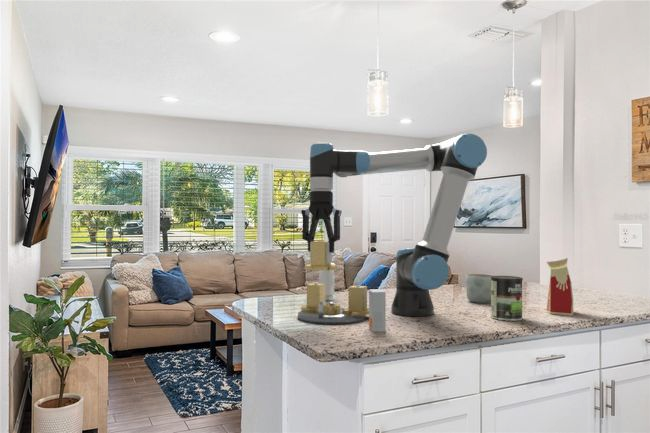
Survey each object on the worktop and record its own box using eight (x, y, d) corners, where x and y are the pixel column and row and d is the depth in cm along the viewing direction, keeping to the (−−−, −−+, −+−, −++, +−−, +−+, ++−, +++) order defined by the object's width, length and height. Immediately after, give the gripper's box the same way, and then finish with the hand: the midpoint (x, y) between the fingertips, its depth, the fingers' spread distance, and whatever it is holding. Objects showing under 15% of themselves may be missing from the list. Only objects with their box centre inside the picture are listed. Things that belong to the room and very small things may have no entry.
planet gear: (330, 271, 161) (330, 242, 161) (297, 269, 166) (297, 241, 166) (343, 268, 172) (343, 241, 172) (312, 266, 176) (312, 240, 176)
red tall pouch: (573, 311, 191) (573, 257, 191) (573, 316, 182) (573, 259, 182) (546, 309, 194) (546, 256, 194) (545, 313, 186) (545, 258, 186)
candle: (317, 299, 216) (317, 264, 216) (319, 297, 223) (320, 262, 223) (333, 300, 215) (333, 264, 215) (335, 297, 222) (335, 262, 222)
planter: (501, 304, 206) (501, 277, 206) (470, 304, 206) (470, 277, 206) (491, 299, 219) (491, 273, 219) (462, 299, 219) (462, 273, 219)
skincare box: (368, 327, 161) (368, 289, 161) (382, 327, 161) (382, 289, 161) (371, 332, 155) (372, 292, 155) (386, 331, 155) (386, 291, 155)
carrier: (379, 315, 182) (379, 283, 182) (357, 327, 161) (357, 291, 161) (309, 309, 193) (309, 279, 193) (280, 320, 172) (280, 287, 172)
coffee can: (529, 319, 175) (529, 277, 175) (507, 322, 171) (507, 279, 171) (505, 314, 184) (505, 274, 184) (484, 317, 180) (484, 276, 180)
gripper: (351, 191, 169) (350, 262, 169) (301, 191, 176) (300, 260, 176) (343, 189, 162) (342, 264, 162) (291, 190, 169) (290, 262, 169)
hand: (320, 262), depth 169 cm, fingers closed on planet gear, 5 cm apart
